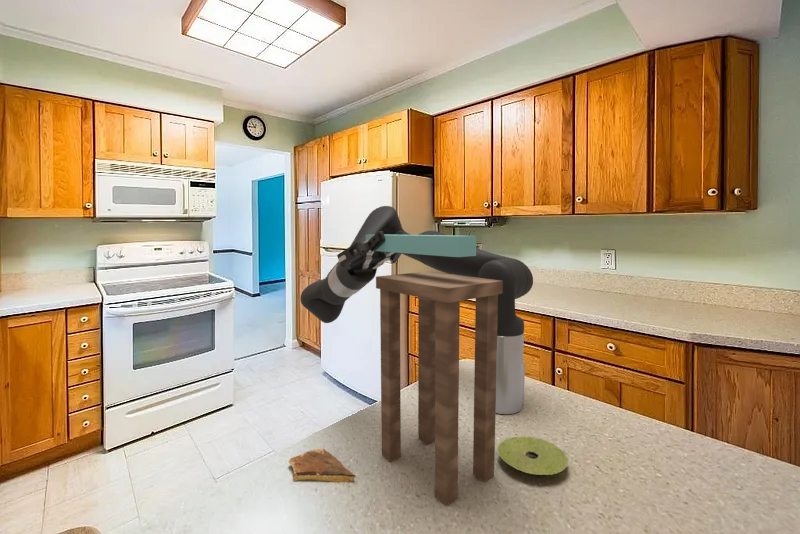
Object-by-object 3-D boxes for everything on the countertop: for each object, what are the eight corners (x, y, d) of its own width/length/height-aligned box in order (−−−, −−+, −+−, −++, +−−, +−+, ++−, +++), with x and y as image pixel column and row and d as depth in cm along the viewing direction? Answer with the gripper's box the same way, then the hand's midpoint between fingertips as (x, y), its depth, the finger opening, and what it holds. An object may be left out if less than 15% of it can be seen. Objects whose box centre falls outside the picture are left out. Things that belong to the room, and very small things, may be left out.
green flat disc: (490, 446, 71) (490, 436, 71) (550, 445, 72) (551, 435, 72) (508, 486, 60) (509, 475, 60) (580, 485, 61) (580, 473, 60)
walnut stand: (427, 433, 76) (428, 271, 73) (498, 476, 63) (502, 280, 60) (377, 455, 69) (375, 276, 66) (446, 509, 55) (447, 288, 52)
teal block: (382, 249, 77) (382, 234, 77) (476, 255, 58) (476, 235, 58) (366, 250, 75) (365, 234, 74) (457, 257, 56) (457, 236, 56)
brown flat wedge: (356, 484, 62) (356, 474, 61) (312, 506, 57) (311, 495, 57) (323, 454, 70) (323, 444, 70) (282, 471, 65) (282, 461, 65)
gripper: (316, 260, 80) (354, 217, 68) (373, 257, 89) (415, 218, 76) (326, 294, 78) (366, 255, 65) (383, 287, 87) (428, 251, 74)
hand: (392, 235), depth 71 cm, fingers closed on teal block, 4 cm apart
